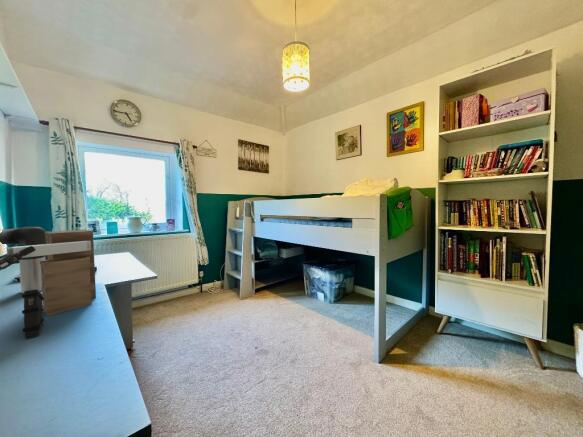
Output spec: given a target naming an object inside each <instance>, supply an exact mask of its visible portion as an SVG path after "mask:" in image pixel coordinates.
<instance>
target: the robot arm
mask: <svg viewBox="0 0 583 437" xmlns="http://www.w3.org/2000/svg"><path fill="white" fill-rule="evenodd" d="M1 230H2V232H1V233H0V242H1V243H2V244H6V246H7V245H22V246H29V247H27V248H25V249H23V250H21V251H19V252H16V253H14V254H12V255H7V253H5V254H3V255H1V256H0V270H6V269H7V268H8V267H11V266H12V265H14V264H15V263H17V262H19V274H20V275H19V276H20V293H21V294H24V291H29V290H35V289H38V290H39V291H40V292H42V281H41V264H40V261H46V260H47V259H46V255H43V256H34V257H25V258H23V257H24V256H26V255H28V254H30V253H32V252H34V251H35V248H34V247H33V246H30V245H42V244H46V234H45V232H47V231H46V230H45V229H44V228H42V227H40V226H23V227H22V226H21V227H15V228H14V227H13V228H8V229H6V228H5V229H1ZM13 257H16V259H14V258H13Z"/></svg>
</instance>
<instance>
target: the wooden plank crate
mask: <svg viewBox="0 0 583 437" xmlns="http://www.w3.org/2000/svg"><path fill="white" fill-rule="evenodd" d="M94 233H95V232H94V230H91V229H85V228H84V229H71V230H70V229H69V230H55V231H46V232H45V234H46V244H54V243H65V242H77V241H91V250H88V251H79V252H70V253H61V254H52V255H46V259H45V260H46V261H40V264H41V281H42V291H41V294H42V296H43V298H44V300H42V309H44V311H42V313H43V314H45V315H46V317H47V316H48V317H49V316H53V315H56V314H60V313H64V312H67V311H71V310H75V309H79V308H83V307H86V306H90V305H92V299H95V298H97V292H96V287H97V286H96V269H95V249H94V248H95V246H94V245H95V244H94Z"/></svg>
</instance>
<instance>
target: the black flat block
mask: <svg viewBox="0 0 583 437" xmlns="http://www.w3.org/2000/svg"><path fill="white" fill-rule="evenodd" d="M21 296H22V297H21V298H23V310H21V314H22V315H23V328H22V333H24V339H25V340H28V339H33V338H36V337H38V336H39V335H40V334H41V333H40V332H41V331H42V328H43V325H44V321H45V318H43V317H44V316H43V314H44V313H43V311H44V309H43V300H44V298H43V296H42V292H41V291H39V290H38V289H35V290H29V291H24V293H23V294H22V295H21Z"/></svg>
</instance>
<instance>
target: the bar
mask: <svg viewBox="0 0 583 437" xmlns="http://www.w3.org/2000/svg"><path fill="white" fill-rule="evenodd" d="M30 246H33V247H34V248H35V251H34V252H32V253H30V254H28V255H26V256H24V257H23V258H25V257H34V256H43V255H45V256H47V255H52V254H61V253H70V252H79V251H88V250H91V241H77V242H65V243H54V244H42V245H30ZM27 247H29V246H26V245H22V246H20V245H19V246H10V247H6V254H7V255H12V254H14V253H16V252H19V251H21V250H23V249H25V248H27ZM13 258H14V259H17V258H16V257H13Z"/></svg>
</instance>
